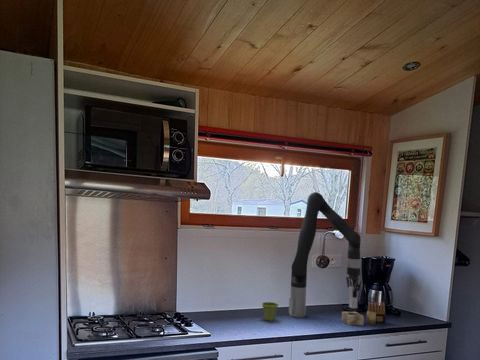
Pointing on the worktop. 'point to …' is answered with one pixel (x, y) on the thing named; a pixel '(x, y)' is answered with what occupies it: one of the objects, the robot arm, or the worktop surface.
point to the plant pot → (269, 310)
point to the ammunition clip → (378, 312)
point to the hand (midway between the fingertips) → (353, 296)
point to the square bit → (352, 298)
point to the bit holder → (352, 318)
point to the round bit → (371, 318)
